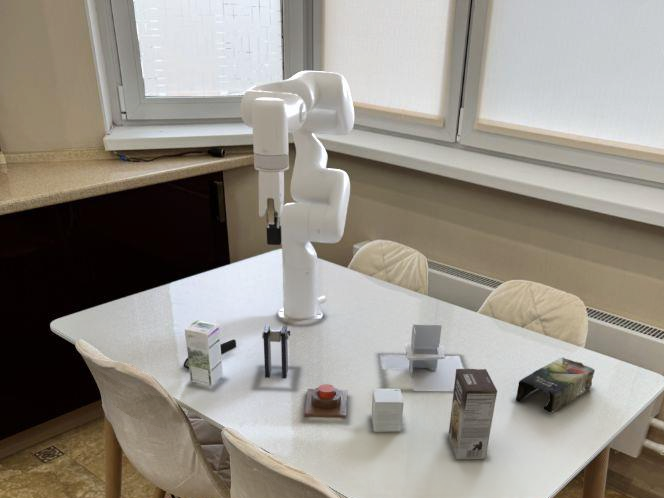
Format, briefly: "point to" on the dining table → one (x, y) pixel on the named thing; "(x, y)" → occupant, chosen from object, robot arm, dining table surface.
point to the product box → (387, 410)
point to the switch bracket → (268, 350)
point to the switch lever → (276, 335)
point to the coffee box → (471, 413)
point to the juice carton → (558, 382)
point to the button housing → (326, 404)
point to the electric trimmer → (224, 348)
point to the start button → (326, 391)
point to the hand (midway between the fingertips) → (274, 243)
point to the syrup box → (204, 352)
